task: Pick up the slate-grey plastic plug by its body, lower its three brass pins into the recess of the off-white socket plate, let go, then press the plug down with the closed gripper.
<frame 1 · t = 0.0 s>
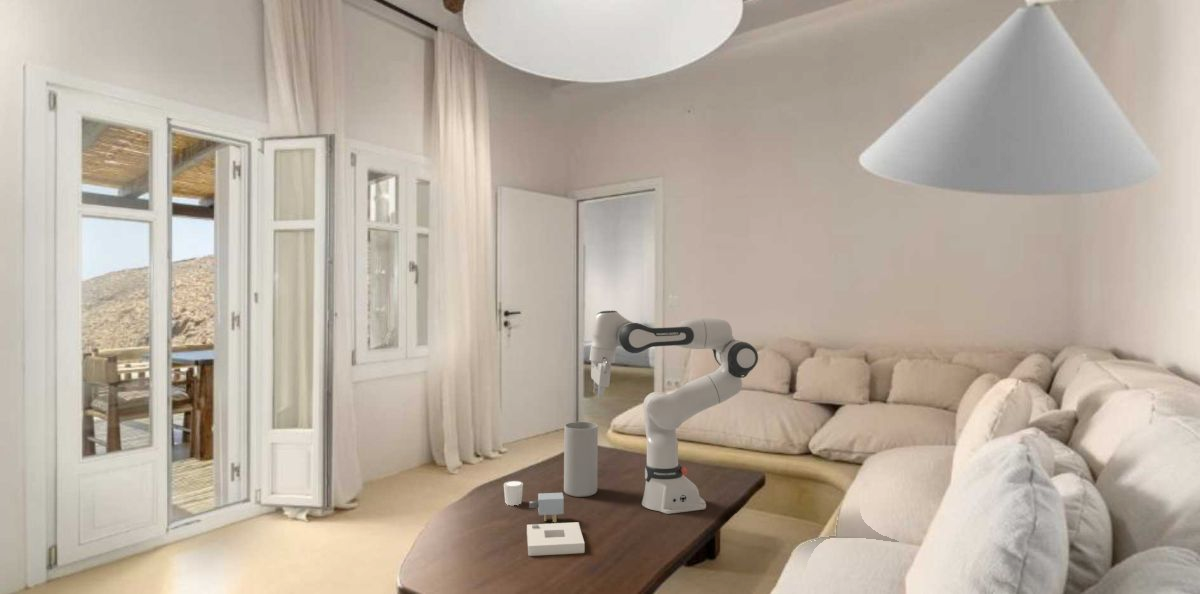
hand: (598, 396, 210), 39 cm above the table, tool pointing down, fingers open, 8 cm apart
socket plate: (554, 542, 180), on the table
cylinder vase: (580, 492, 227), on the table
shot glass: (513, 503, 214), on the table
plug: (550, 520, 198), on the table
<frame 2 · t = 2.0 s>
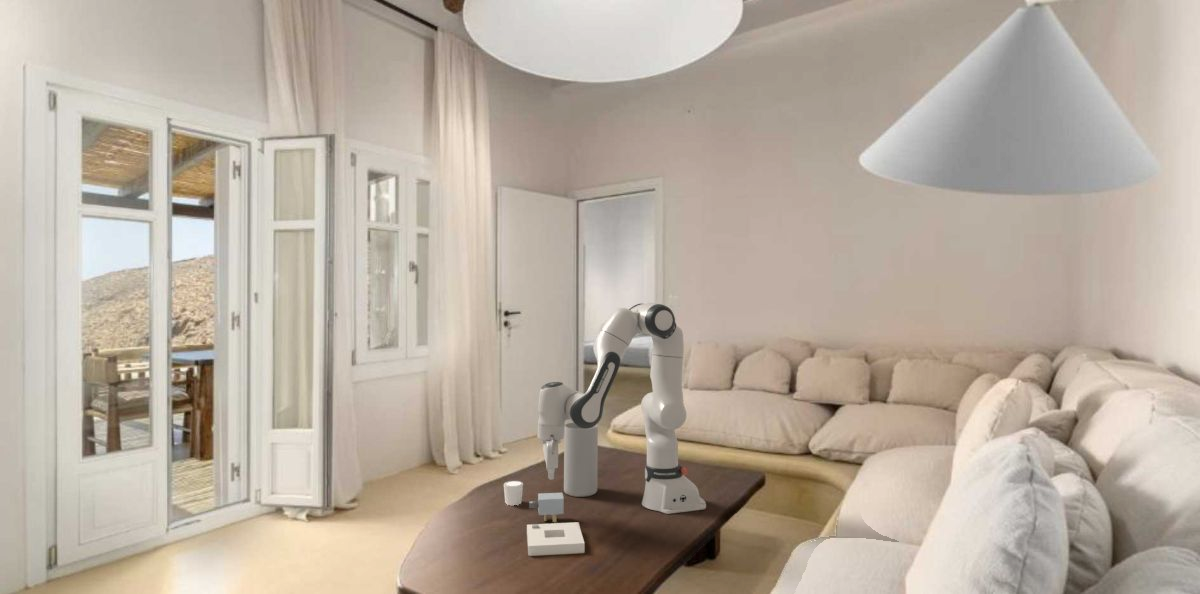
hand: (549, 474, 198), 15 cm above the table, tool pointing down, fingers open, 8 cm apart
nothing on the table moved.
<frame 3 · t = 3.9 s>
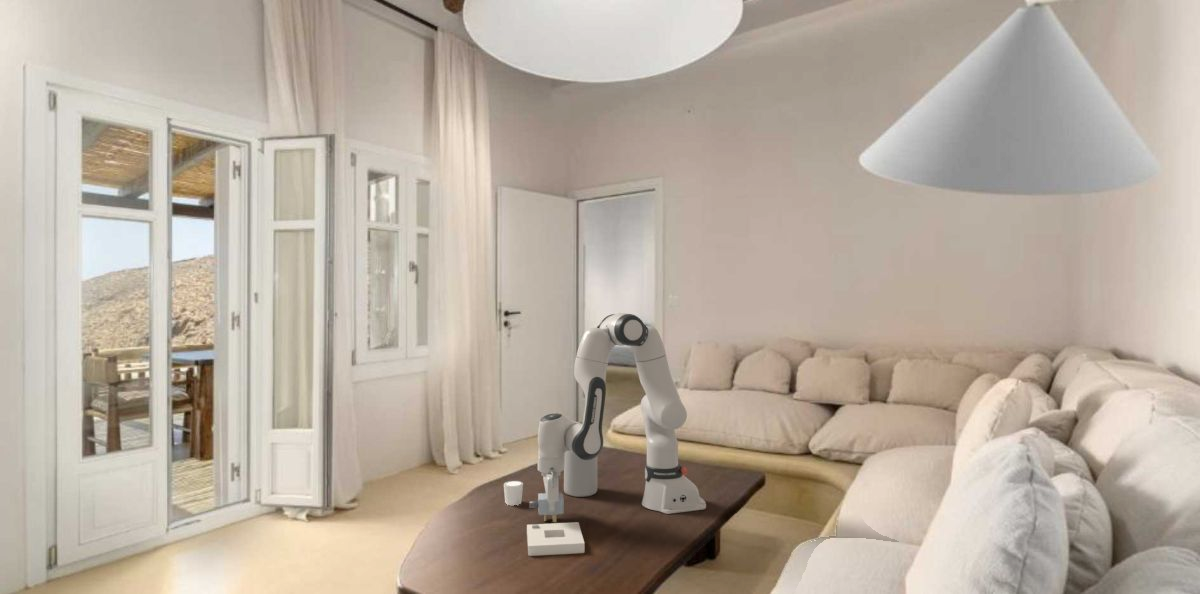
hand: (550, 506, 198), 5 cm above the table, tool pointing down, fingers closed on plug, 6 cm apart
plug: (550, 520, 198), on the table, touching gripper
everything else where it was.
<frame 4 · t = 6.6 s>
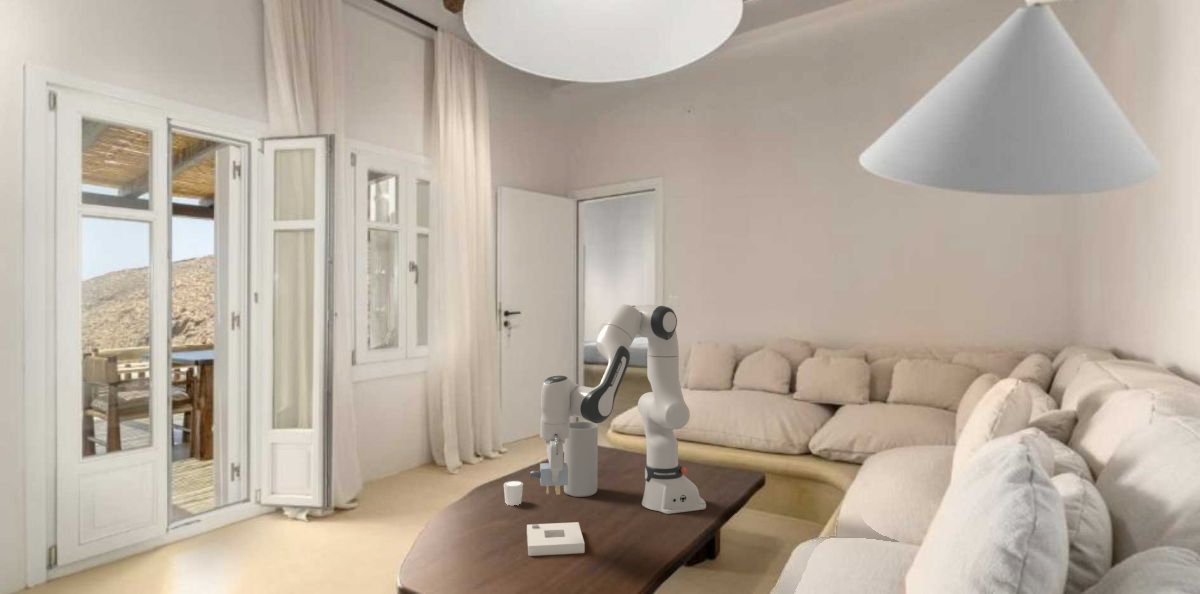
hand: (554, 477, 181), 19 cm above the table, tool pointing down, fingers closed on plug, 6 cm apart
plug: (553, 492, 181), point 15 cm above the table, touching gripper
everything else where it was.
when the fingers open (6 cm above the table, at t = 9.8 s): plug stays where it is, resting on socket plate.
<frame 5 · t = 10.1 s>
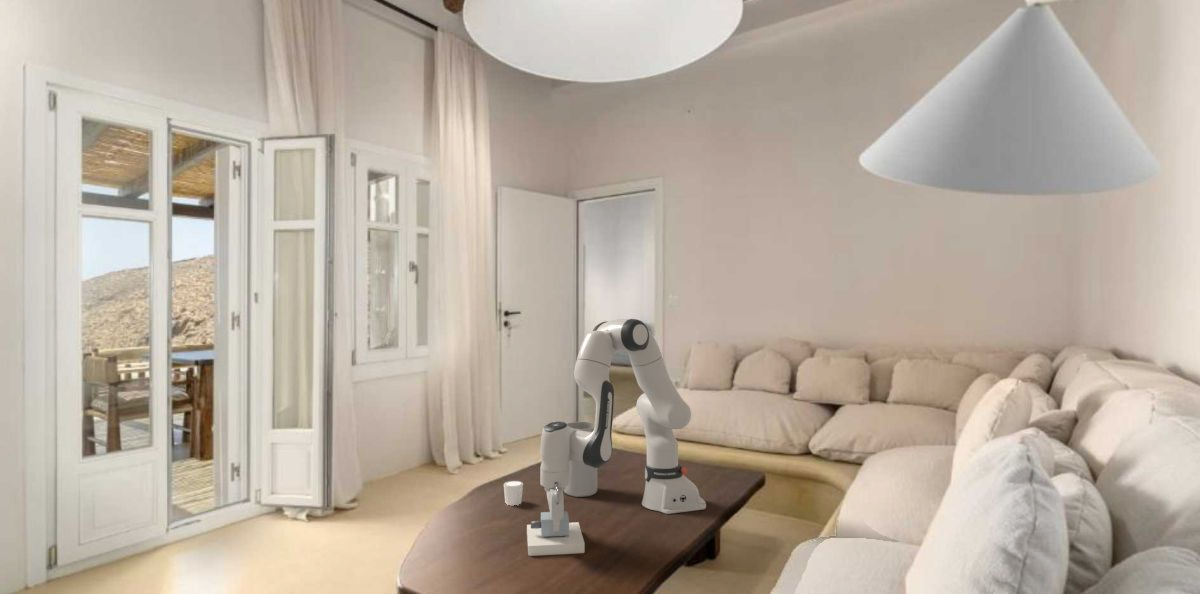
hand: (554, 524, 180), 6 cm above the table, tool pointing down, fingers open, 8 cm apart
plug: (554, 542, 180), resting on socket plate
everything else where it was.
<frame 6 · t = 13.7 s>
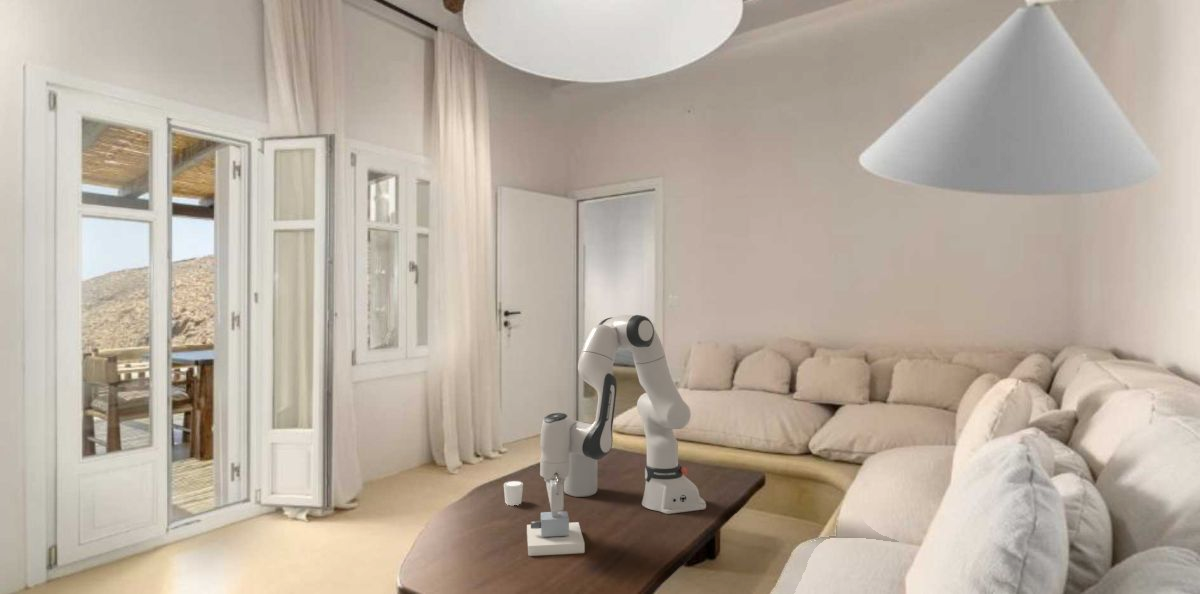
hand: (554, 515, 180), 8 cm above the table, tool pointing down, fingers closed, pressing on plug
plug: (554, 542, 180), resting on socket plate, touching gripper
everything else where it was.
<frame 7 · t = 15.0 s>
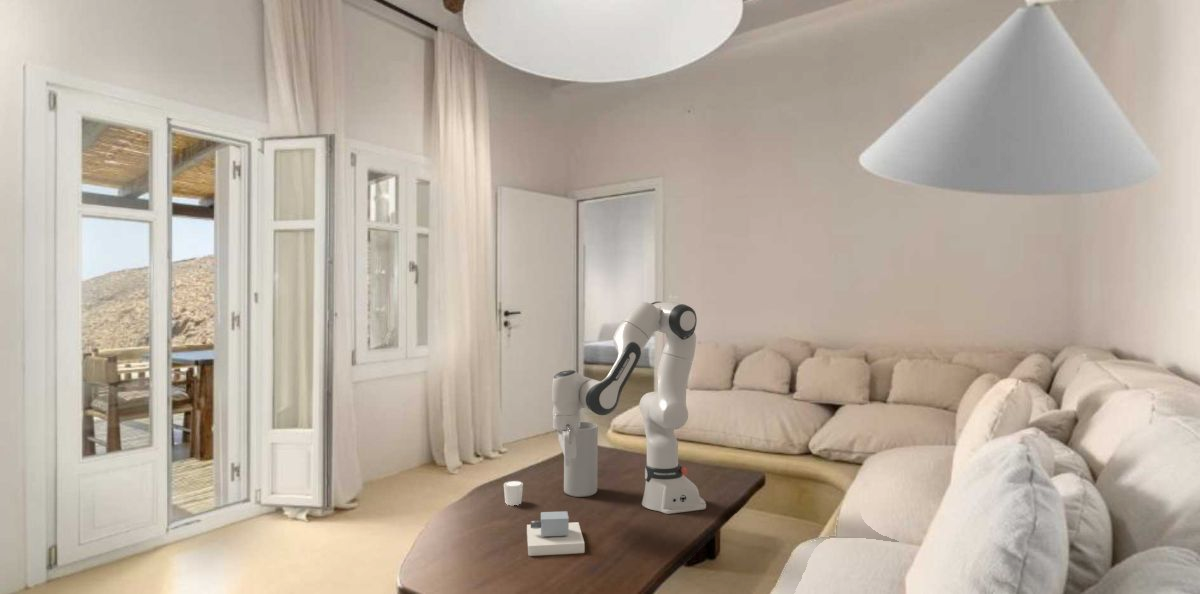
hand: (567, 464, 194), 19 cm above the table, tool pointing down, fingers closed
plug: (554, 542, 180), resting on socket plate
everything else where it was.
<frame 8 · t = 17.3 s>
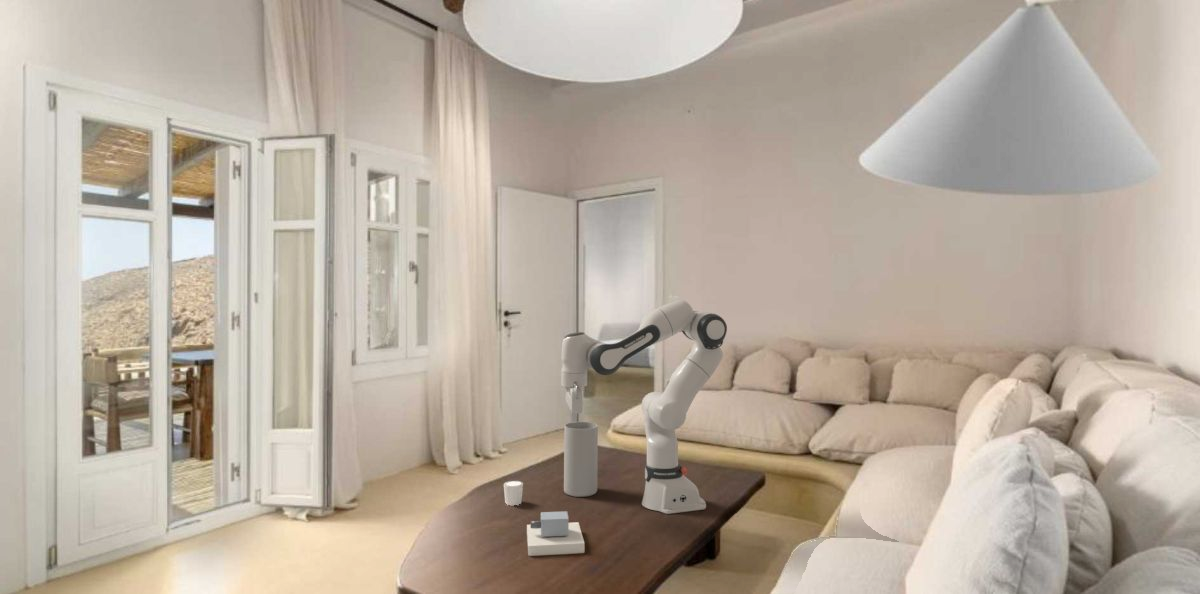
hand: (573, 421, 205), 31 cm above the table, tool pointing down, fingers closed
nothing on the table moved.
at the end: plug 0.1 cm off-centre on the socket plate, point 0.2 cm above the socket plate's base; plug tilted 0°; the gripper is holding nothing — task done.
